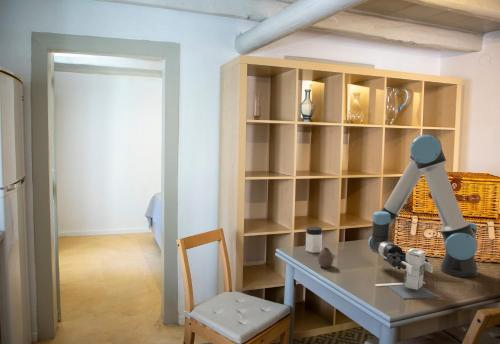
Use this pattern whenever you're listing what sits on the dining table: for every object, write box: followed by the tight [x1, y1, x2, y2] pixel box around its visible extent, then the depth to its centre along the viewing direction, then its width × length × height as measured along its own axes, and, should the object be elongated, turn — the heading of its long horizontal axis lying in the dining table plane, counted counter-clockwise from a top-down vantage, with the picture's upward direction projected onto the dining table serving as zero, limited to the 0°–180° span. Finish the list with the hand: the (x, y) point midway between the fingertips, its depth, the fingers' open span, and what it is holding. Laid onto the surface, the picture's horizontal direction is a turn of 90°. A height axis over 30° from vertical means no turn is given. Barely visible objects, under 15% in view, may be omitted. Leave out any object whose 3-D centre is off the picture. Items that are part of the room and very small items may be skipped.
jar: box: [305, 225, 323, 254], centre depth 213 cm, size 9×8×12 cm
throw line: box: [374, 281, 426, 287], centre depth 168 cm, size 22×2×1 cm, turn 101°
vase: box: [317, 246, 334, 269], centre depth 188 cm, size 7×7×9 cm
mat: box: [386, 285, 438, 300], centre depth 160 cm, size 14×12×1 cm
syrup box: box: [403, 248, 426, 290], centre depth 160 cm, size 6×6×14 cm
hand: (421, 269), depth 155 cm, fingers closed on syrup box, 8 cm apart
